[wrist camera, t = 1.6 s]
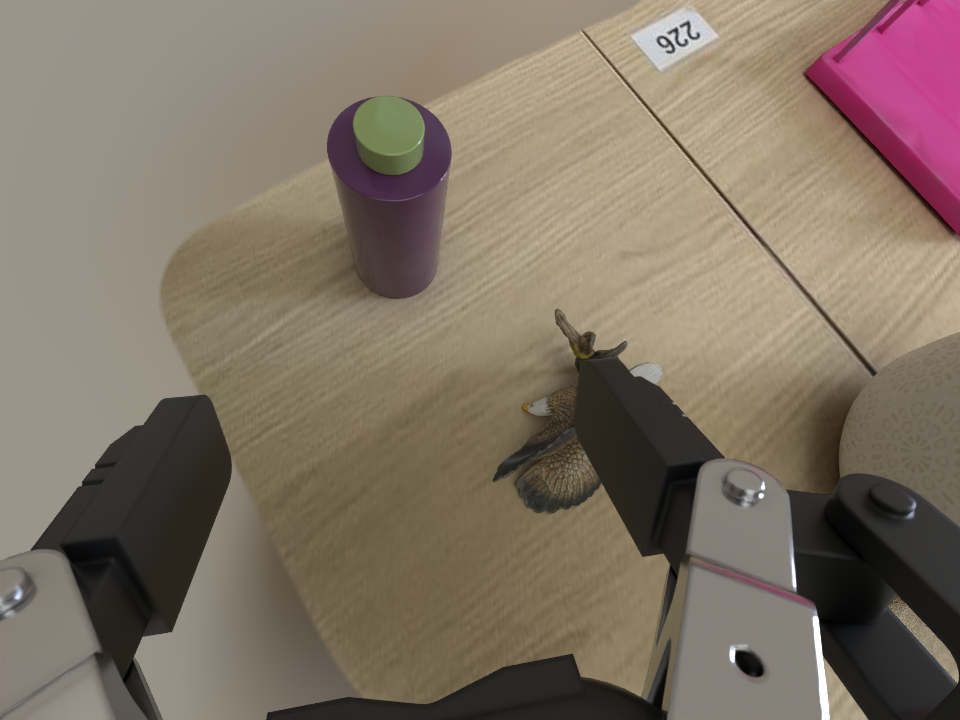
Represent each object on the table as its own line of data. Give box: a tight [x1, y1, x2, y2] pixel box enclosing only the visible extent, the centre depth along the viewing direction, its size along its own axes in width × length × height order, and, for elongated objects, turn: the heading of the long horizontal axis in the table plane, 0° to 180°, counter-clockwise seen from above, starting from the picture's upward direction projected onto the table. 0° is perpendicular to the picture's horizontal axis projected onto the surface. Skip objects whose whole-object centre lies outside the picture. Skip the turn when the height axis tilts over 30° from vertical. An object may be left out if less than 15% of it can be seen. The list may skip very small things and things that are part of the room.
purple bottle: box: [327, 96, 452, 298], centre depth 23 cm, size 5×5×11 cm
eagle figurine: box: [493, 309, 663, 513], centre depth 24 cm, size 8×7×9 cm
